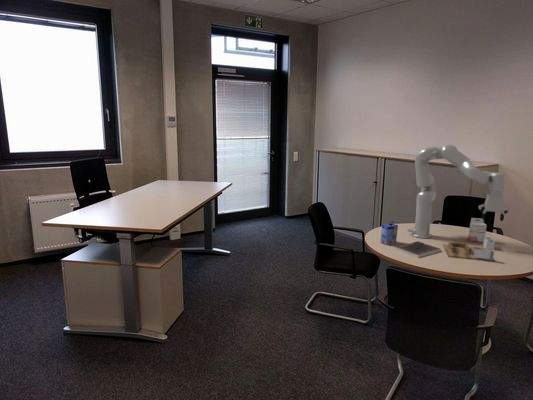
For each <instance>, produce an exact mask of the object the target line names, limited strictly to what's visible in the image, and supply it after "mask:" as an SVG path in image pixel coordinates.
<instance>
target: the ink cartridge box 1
mask: <svg viewBox="0 0 533 400" xmlns="http://www.w3.org/2000/svg"><path fill="white" fill-rule="evenodd" d="M394 222H395V221H390V222H389V223H385V224H382V225H381V232H380V243H381V244H383V245H386V246H388V245H391V244H396V243H397V239H398V238H397V236H398V230H399V229H398V228H399V224H397V223H394Z"/></svg>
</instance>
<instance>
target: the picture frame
mask: <svg viewBox="0 0 533 400" xmlns="http://www.w3.org/2000/svg"><path fill="white" fill-rule="evenodd" d="M394 249H395V251H397V252H400V253H404V254H407V255H409V256H411V257H412V256H413V257H415V258H422V257H425V256H428V255H434V254H436V253H439V252H441V251H442V248H439V247H436V246H433V245H430V244H427V243H424V242H422V241H414V242H411V243H407V244H402V245H398V246H395V248H394Z"/></svg>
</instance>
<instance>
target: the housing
mask: <svg viewBox="0 0 533 400" xmlns="http://www.w3.org/2000/svg"><path fill="white" fill-rule="evenodd" d="M442 248H443V249H444V252H445V253H446V256H447V258H453V259H454V258H456V259H465V260H474V261H475V260H476V261H487V262H495V259H494V258H493V260H490V259H481V258H473V256H474V249H479V250H487V249H485V247H478V246H469V245H468V243H465V242H456V241H455V242H454V241H448V244H446V243H445V244H444V243H443V244H442Z"/></svg>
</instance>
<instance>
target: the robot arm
mask: <svg viewBox="0 0 533 400" xmlns="http://www.w3.org/2000/svg"><path fill="white" fill-rule="evenodd" d="M440 159H441V160H442V159H445V160H446V161H447V162H449V163H450V164H451V165H453V166H454V167H456V168H457V169H458V170H460V172H462V173H463V175H465V176H466V177H468V178H469V179H470V180H471V181H472V182H474V183H476V184H478V185H483V186H484V185H486V184H489V188H488V190H485V193H487V195H486V197H485V201H484V203H482V204H479V205H478V209H479V211H480V213H482V214H481V218H482V219H483V220H484V221H486V217H487V216H486V213H487V212H489V213H490V212H492V213H500V216H499V217H500V218H499V220H500V221H501V222H503V221H504V219H505V215H506V214H508V212H509V211H510V210H511V208H510V207H509V206H507V205H505V199H506V198H505V195H504V190H505V189H504V187H505V182H506V174H505V173H503V172H496V171H495V172H494V171H487V170H481V169H479V168H478V167H477V166H475V164H473V162H472V161H471V159H470V158H469V157H468V156H466V155H465V154H463V153H462V152H461V151H460V150H458V148H457V147H456V146H455V145H454V144H453V145H452V144H448V145H439V146H438V145H437V146H430V147H429V146H428V147H425V148H423V149H422V150H420V151H419V152H418V153H417V154H416V155H415V158H414V167H415V177H416V178H415V179H416V180H415V181H416V185H417V187H418V188H420V191H419V192H418V194H417V195H416V207H415V209H416V212H415V221H414V222H415V223H414V227H413V228H407V229H406V230H407V232H408V233H411V236H413V237H415V238H420V239H431V238H432V234H431V233H430V229H431V222H432V221H431V219H432V209H433V208H432V205H433V204H432V202H434V200H436V197H437V191H436V190H437V189H436V179H435V177H434V175H433V174H431V173H430V166H429V165H430V164H429V162H430V161H433V160H440Z"/></svg>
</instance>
